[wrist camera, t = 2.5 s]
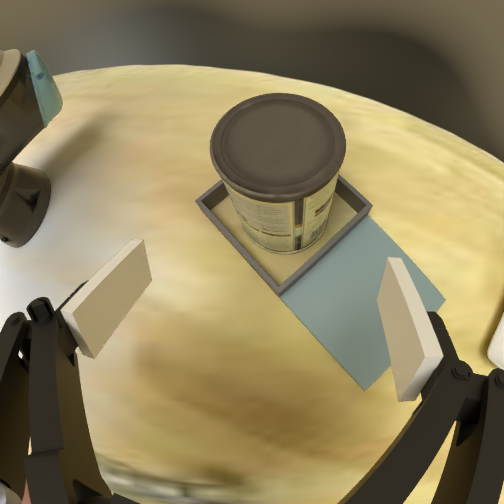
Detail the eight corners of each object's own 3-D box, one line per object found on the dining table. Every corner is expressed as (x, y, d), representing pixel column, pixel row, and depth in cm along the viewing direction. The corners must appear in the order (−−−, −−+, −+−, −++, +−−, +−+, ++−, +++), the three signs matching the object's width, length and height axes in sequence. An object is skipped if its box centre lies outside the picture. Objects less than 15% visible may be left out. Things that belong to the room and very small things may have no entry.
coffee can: (254, 168, 36) (234, 86, 22) (334, 185, 34) (352, 104, 20) (229, 243, 33) (188, 182, 20) (317, 265, 31) (334, 212, 18)
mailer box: (202, 211, 35) (195, 200, 32) (286, 145, 36) (285, 131, 33) (363, 390, 27) (370, 395, 24) (444, 300, 28) (456, 296, 25)
